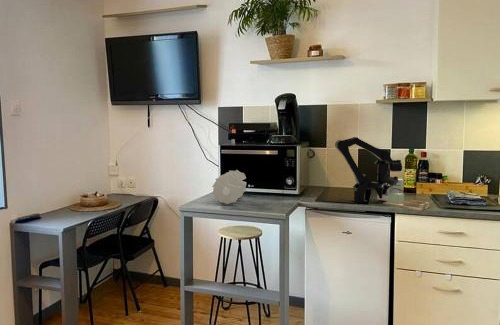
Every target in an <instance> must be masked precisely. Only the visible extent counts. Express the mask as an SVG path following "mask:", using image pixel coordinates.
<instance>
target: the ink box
mask: <svg viewBox="0 0 500 325" xmlns="http://www.w3.org/2000/svg"><path fill="white" fill-rule="evenodd" d="M388 185H389V186H391V185H390V184H388ZM403 187H404V179H403V178H398V183H397V184H396V185H394V186H391V187H389V188H388V189H387V192H386V195H388V193H391V192H396V193H403V190H404V189H403Z"/></svg>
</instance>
